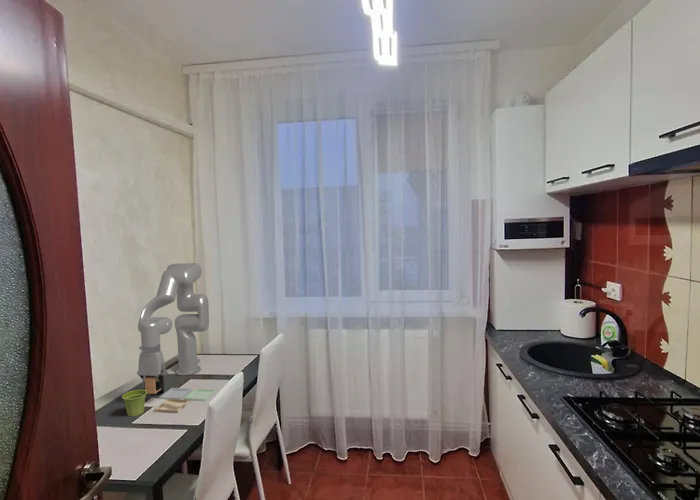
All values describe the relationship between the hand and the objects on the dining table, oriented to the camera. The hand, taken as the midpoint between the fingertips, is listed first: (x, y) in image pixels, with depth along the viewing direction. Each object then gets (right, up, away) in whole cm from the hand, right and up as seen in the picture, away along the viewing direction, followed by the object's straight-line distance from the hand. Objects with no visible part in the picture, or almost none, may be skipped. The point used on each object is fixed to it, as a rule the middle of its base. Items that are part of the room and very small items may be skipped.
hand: (153, 388), depth 183 cm
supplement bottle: (-4, -7, +11) cm, 13 cm away
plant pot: (-3, -8, -9) cm, 12 cm away
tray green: (+19, -6, +7) cm, 21 cm away
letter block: (0, -1, 0) cm, 1 cm away
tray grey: (+7, -6, +8) cm, 12 cm away
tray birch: (+11, -7, -4) cm, 13 cm away
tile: (0, -7, +1) cm, 7 cm away
